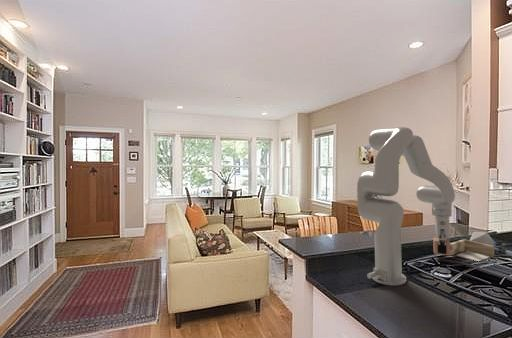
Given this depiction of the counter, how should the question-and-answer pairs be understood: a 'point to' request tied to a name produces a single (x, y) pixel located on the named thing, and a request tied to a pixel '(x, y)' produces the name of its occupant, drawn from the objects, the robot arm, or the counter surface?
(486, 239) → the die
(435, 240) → the cube
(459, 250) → the tan box
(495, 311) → the counter surface
